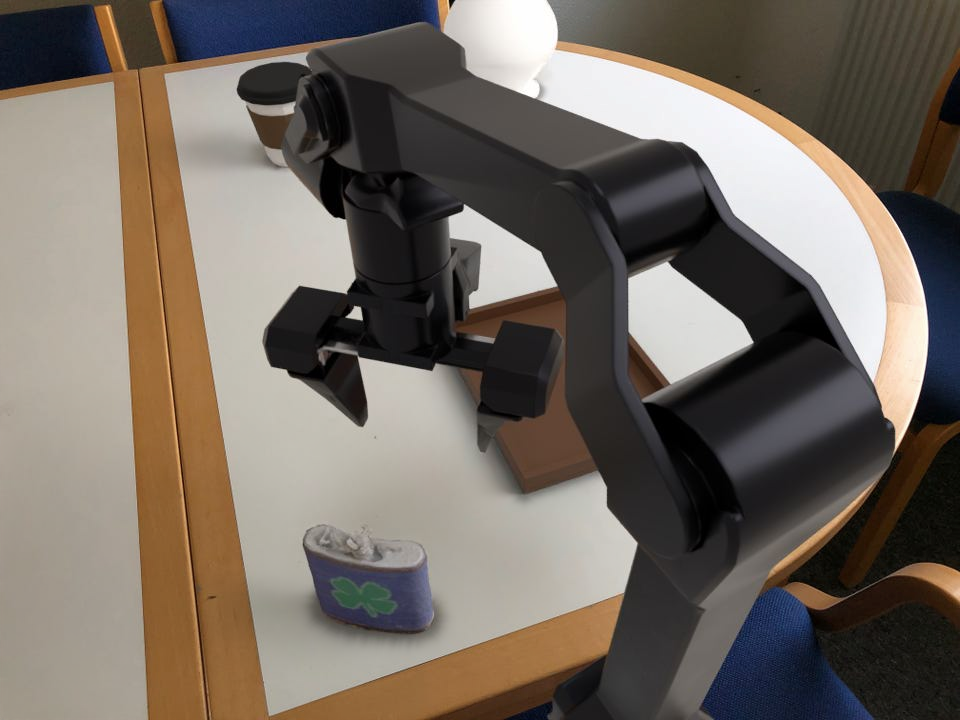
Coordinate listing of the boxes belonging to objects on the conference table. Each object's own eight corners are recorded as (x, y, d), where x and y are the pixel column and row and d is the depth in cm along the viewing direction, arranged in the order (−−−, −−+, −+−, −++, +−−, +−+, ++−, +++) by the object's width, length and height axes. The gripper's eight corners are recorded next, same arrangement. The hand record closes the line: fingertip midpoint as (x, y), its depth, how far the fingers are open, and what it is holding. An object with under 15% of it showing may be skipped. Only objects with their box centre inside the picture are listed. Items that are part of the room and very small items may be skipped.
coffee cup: (337, 139, 119) (324, 60, 111) (319, 177, 111) (304, 94, 103) (266, 137, 120) (249, 59, 112) (244, 174, 112) (223, 93, 104)
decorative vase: (557, 115, 123) (564, -62, 106) (442, 116, 124) (431, -60, 107) (554, 68, 136) (560, -96, 119) (450, 69, 137) (441, -94, 120)
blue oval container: (438, 607, 62) (427, 527, 55) (428, 642, 60) (416, 563, 52) (326, 586, 63) (302, 505, 56) (313, 619, 61) (285, 540, 54)
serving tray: (697, 437, 74) (701, 422, 72) (524, 494, 70) (524, 479, 68) (584, 293, 90) (586, 278, 89) (438, 332, 86) (437, 317, 84)
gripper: (587, 203, 49) (574, 382, 60) (315, 168, 54) (348, 340, 64) (547, 313, 42) (540, 496, 52) (232, 261, 46) (285, 440, 57)
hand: (422, 434), depth 57 cm, fingers open, 9 cm apart
